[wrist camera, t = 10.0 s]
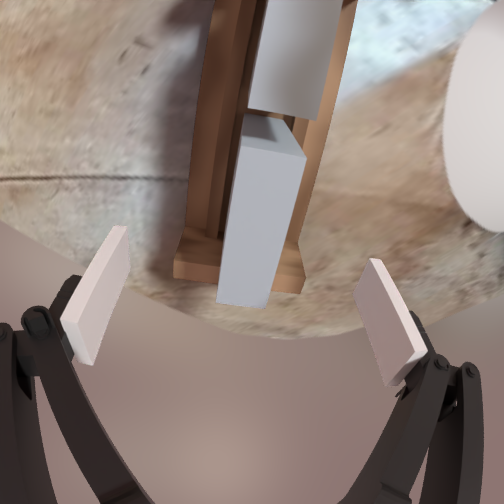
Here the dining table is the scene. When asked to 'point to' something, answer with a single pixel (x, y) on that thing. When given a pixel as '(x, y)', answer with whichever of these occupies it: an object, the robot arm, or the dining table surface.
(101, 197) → the dining table surface
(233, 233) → the gray angular faceted block
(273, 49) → the wooden slotted stand
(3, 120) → the dining table surface
